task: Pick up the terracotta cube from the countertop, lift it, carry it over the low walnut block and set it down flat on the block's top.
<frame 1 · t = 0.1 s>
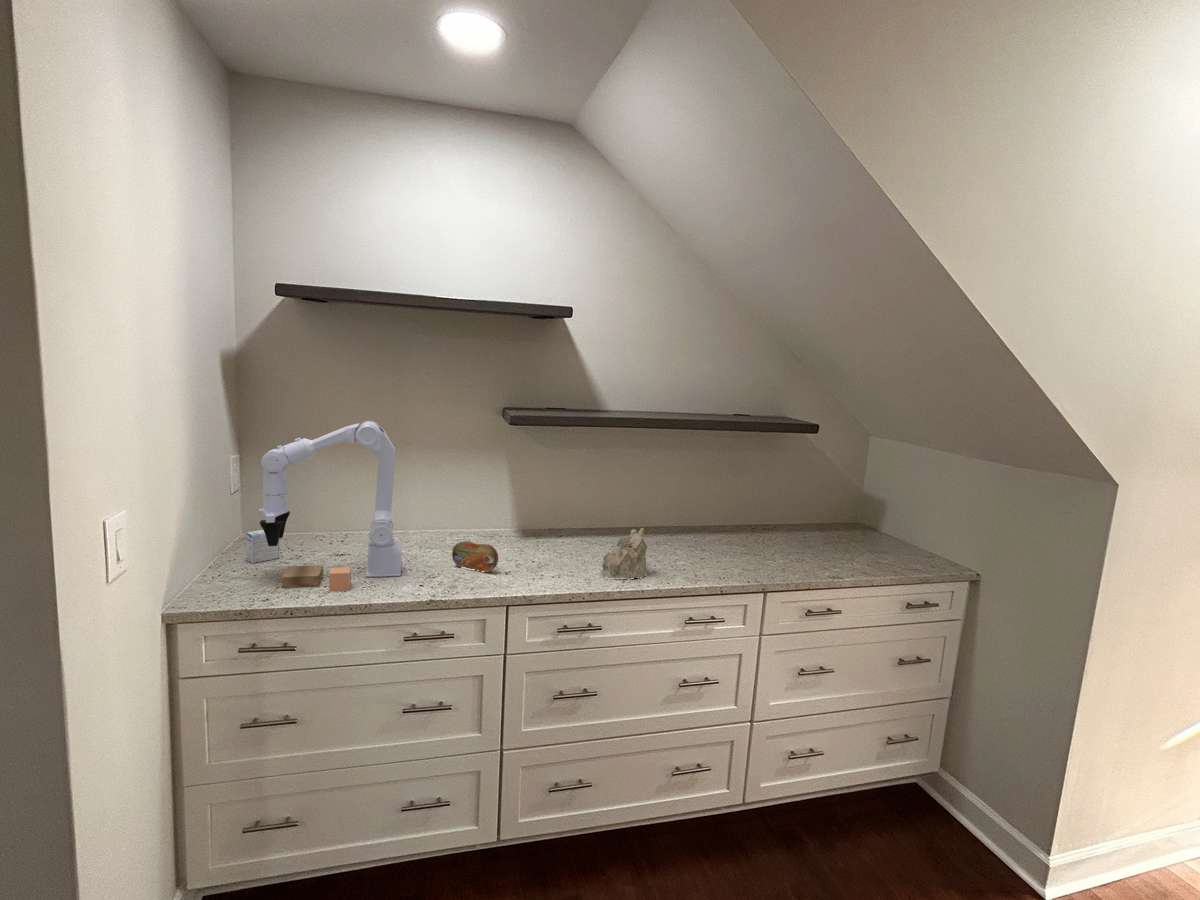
hand: (275, 541, 174), 10 cm above the worktop, tool pointing down, fingers open, 7 cm apart
medicine box: (263, 560, 189), on the worktop
tin: (474, 570, 192), on the worktop
ceramic cottage: (621, 572, 198), on the worktop
walnut block: (303, 581, 173), on the worktop
terracotta cube: (340, 588, 170), on the worktop
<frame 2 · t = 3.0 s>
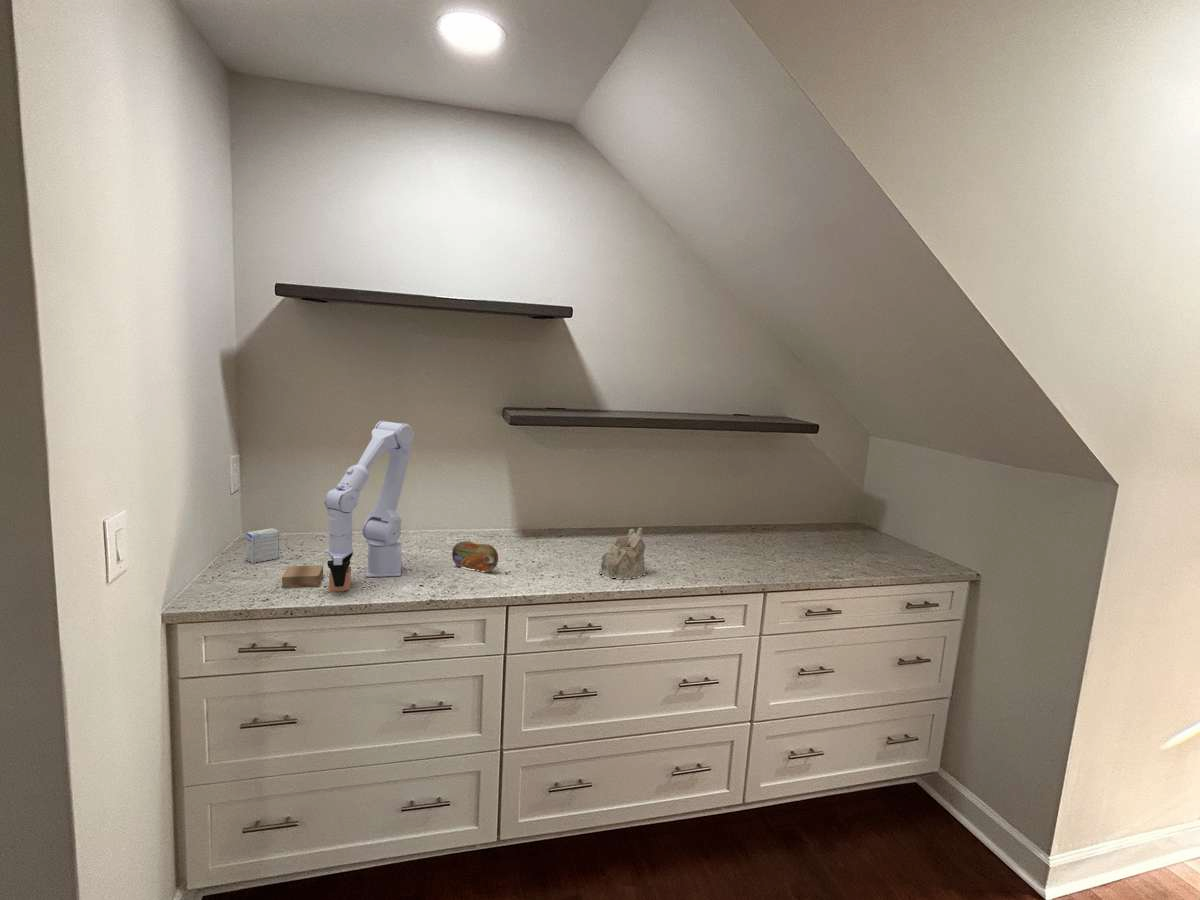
hand: (340, 582, 170), 1 cm above the worktop, tool pointing down, fingers closed on terracotta cube, 5 cm apart
terracotta cube: (340, 587, 170), on the worktop, touching gripper
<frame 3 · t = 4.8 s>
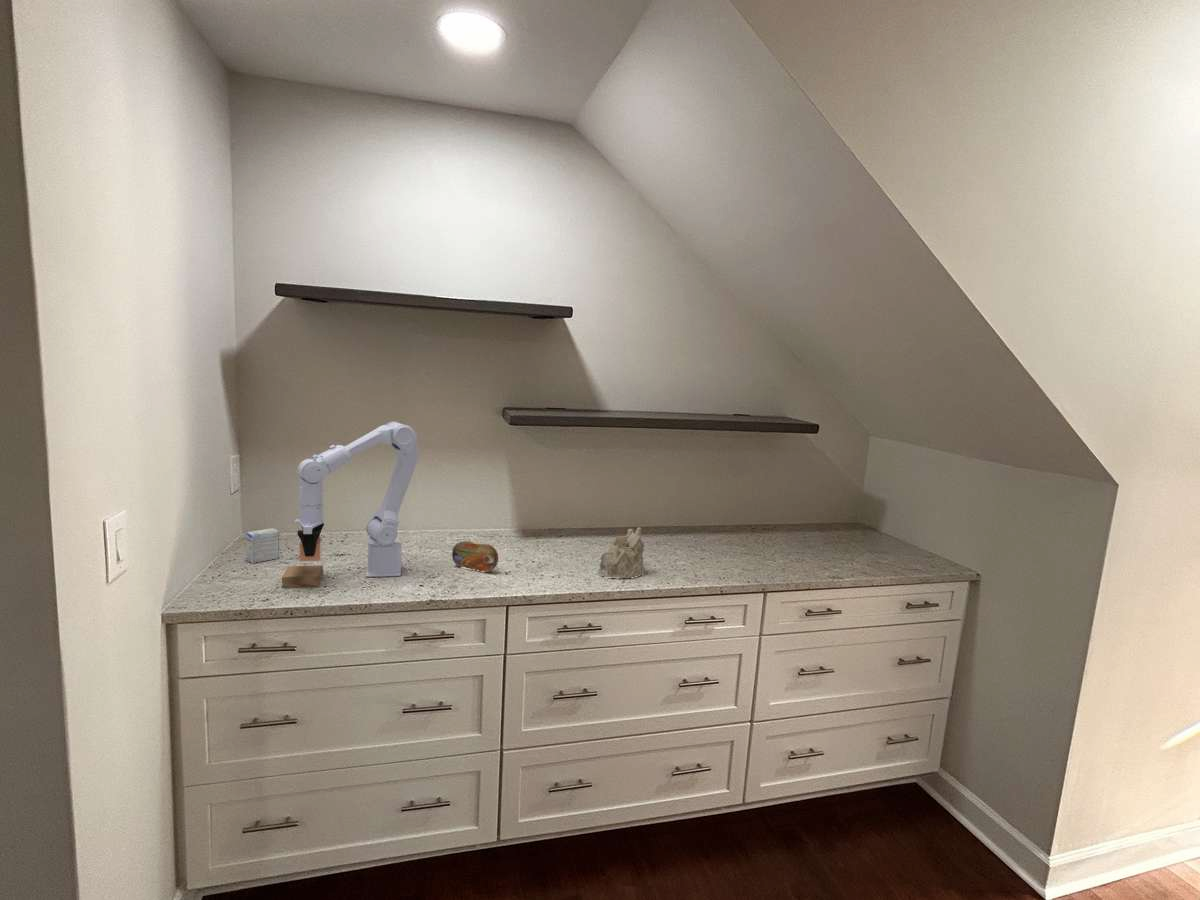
hand: (311, 552, 171), 8 cm above the worktop, tool pointing down, fingers closed on terracotta cube, 5 cm apart
terracotta cube: (311, 558, 171), point 7 cm above the worktop, touching gripper
when the fingers open (5 cm above the worktop, at t = 6.6 s): terracotta cube stays where it is, resting on walnut block.
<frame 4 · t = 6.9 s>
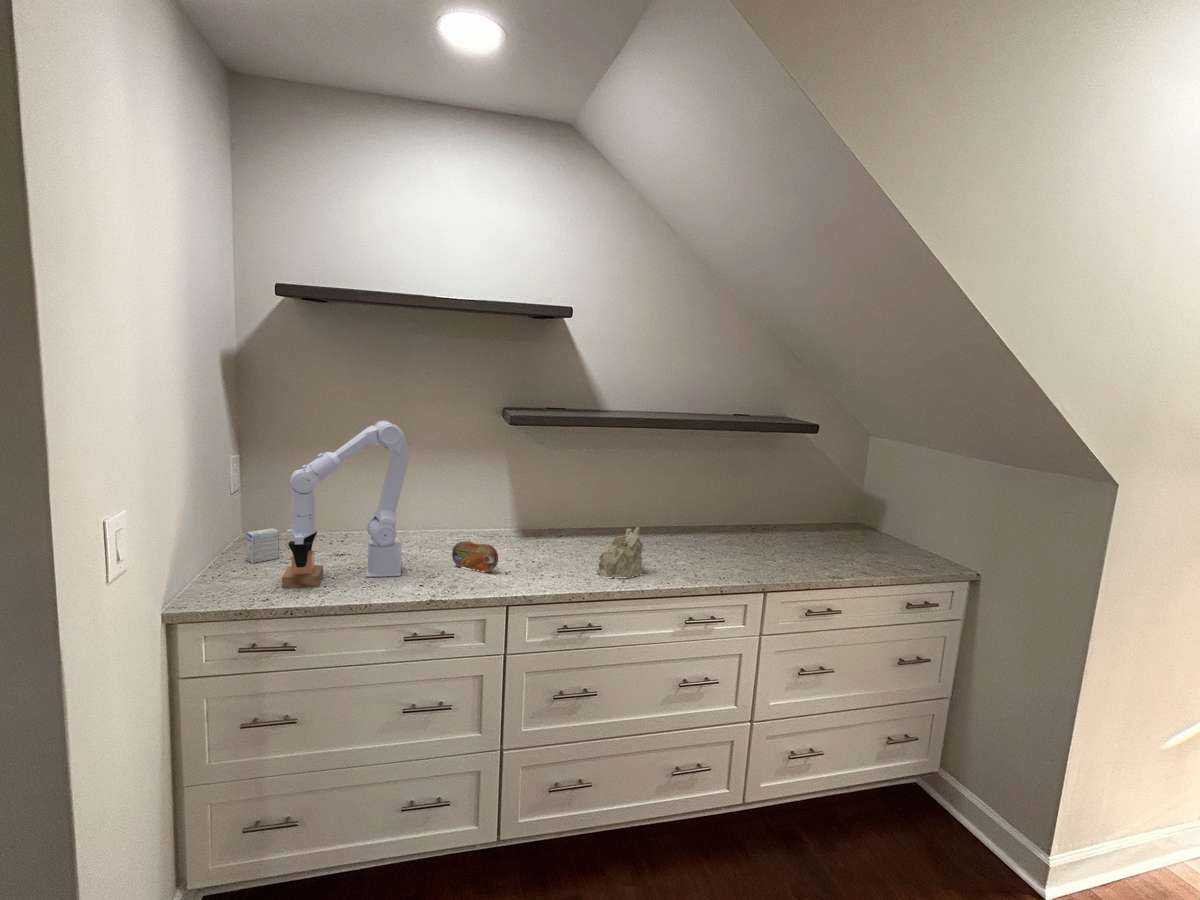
hand: (303, 562, 172), 5 cm above the worktop, tool pointing down, fingers open, 7 cm apart
terracotta cube: (303, 570, 173), point 3 cm above the worktop, touching walnut block
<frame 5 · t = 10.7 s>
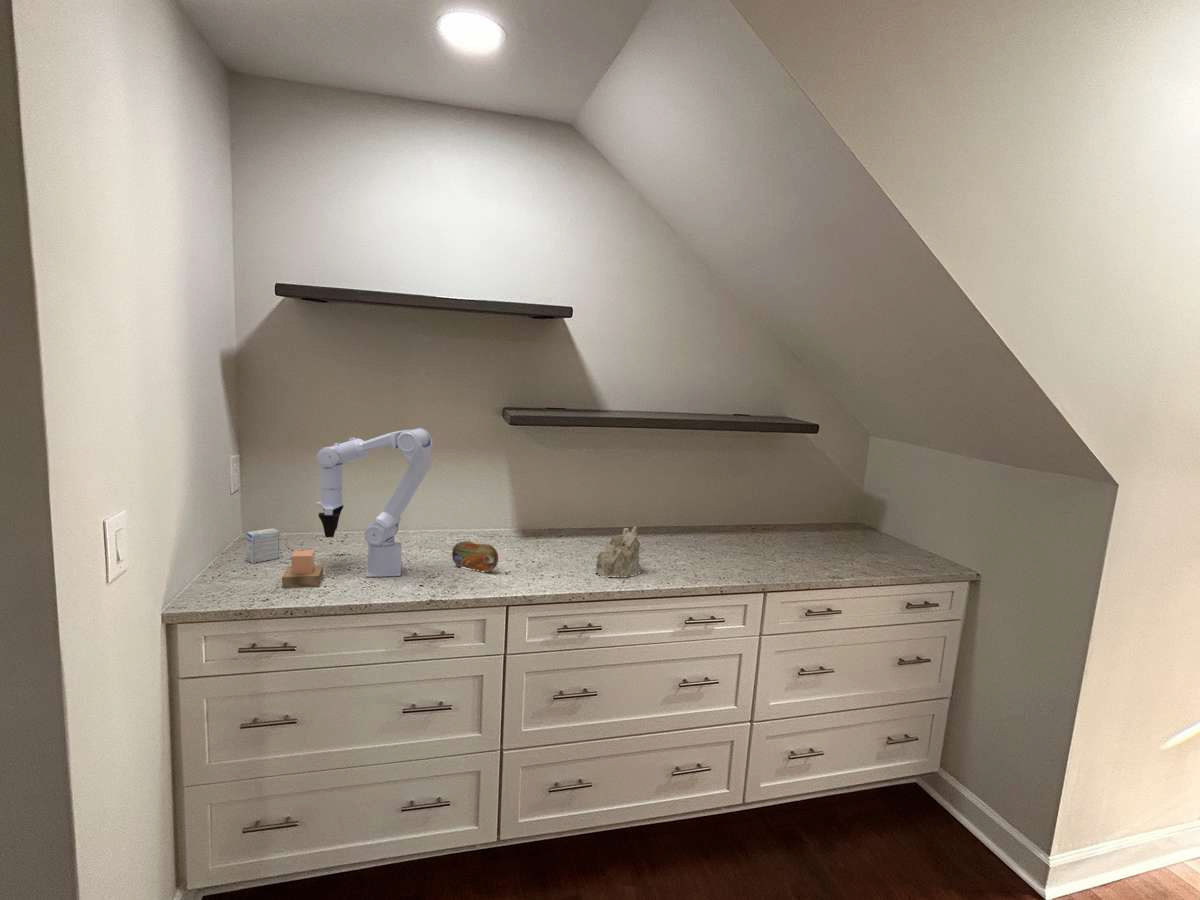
hand: (331, 533, 184), 10 cm above the worktop, tool pointing down, fingers open, 7 cm apart
at the end: terracotta cube 0.0 cm off-centre on the walnut block, point 3.0 cm above the walnut block's base; terracotta cube tilted 0°; the gripper is holding nothing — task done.
